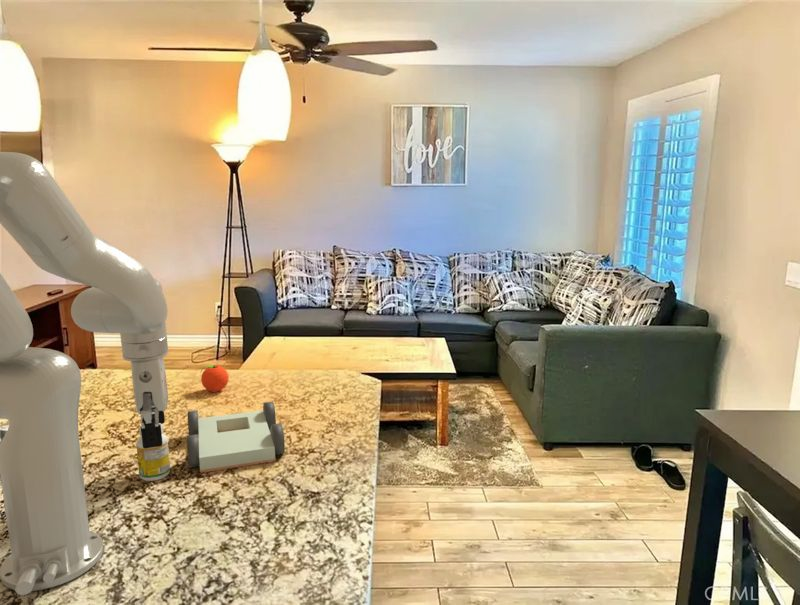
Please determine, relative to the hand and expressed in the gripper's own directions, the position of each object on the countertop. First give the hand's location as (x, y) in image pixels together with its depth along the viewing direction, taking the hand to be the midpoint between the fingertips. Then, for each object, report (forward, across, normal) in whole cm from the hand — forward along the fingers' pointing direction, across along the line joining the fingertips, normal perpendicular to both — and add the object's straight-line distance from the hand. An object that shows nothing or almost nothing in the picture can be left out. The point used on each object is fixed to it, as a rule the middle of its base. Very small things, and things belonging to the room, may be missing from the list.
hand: (154, 434), depth 106 cm
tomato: (+9, +43, -11) cm, 45 cm away
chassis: (+8, +7, -14) cm, 18 cm away
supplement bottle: (+8, -1, +1) cm, 8 cm away
